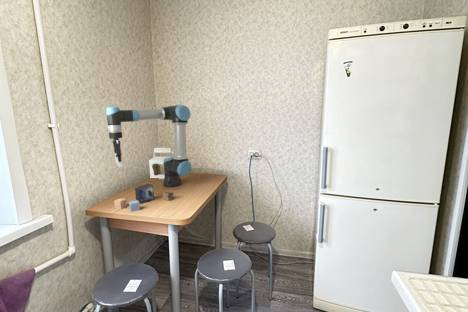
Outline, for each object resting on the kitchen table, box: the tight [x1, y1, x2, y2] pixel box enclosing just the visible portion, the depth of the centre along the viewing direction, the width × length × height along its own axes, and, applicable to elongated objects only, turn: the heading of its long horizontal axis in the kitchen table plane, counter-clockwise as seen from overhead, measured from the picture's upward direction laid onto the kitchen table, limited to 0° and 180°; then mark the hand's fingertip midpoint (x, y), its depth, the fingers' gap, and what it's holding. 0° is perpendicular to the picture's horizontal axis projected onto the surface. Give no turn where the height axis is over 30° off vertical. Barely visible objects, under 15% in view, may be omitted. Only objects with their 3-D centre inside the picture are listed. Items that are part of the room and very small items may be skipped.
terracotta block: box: [113, 198, 128, 210], centre depth 157 cm, size 5×5×5 cm
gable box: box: [148, 147, 175, 180], centre depth 229 cm, size 22×13×28 cm, turn 81°
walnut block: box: [162, 191, 175, 202], centre depth 170 cm, size 5×5×5 cm
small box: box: [134, 183, 155, 205], centre depth 167 cm, size 11×6×10 cm, turn 139°
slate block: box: [128, 199, 140, 212], centre depth 153 cm, size 5×5×5 cm
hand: (119, 164), depth 159 cm, fingers open, 13 cm apart
